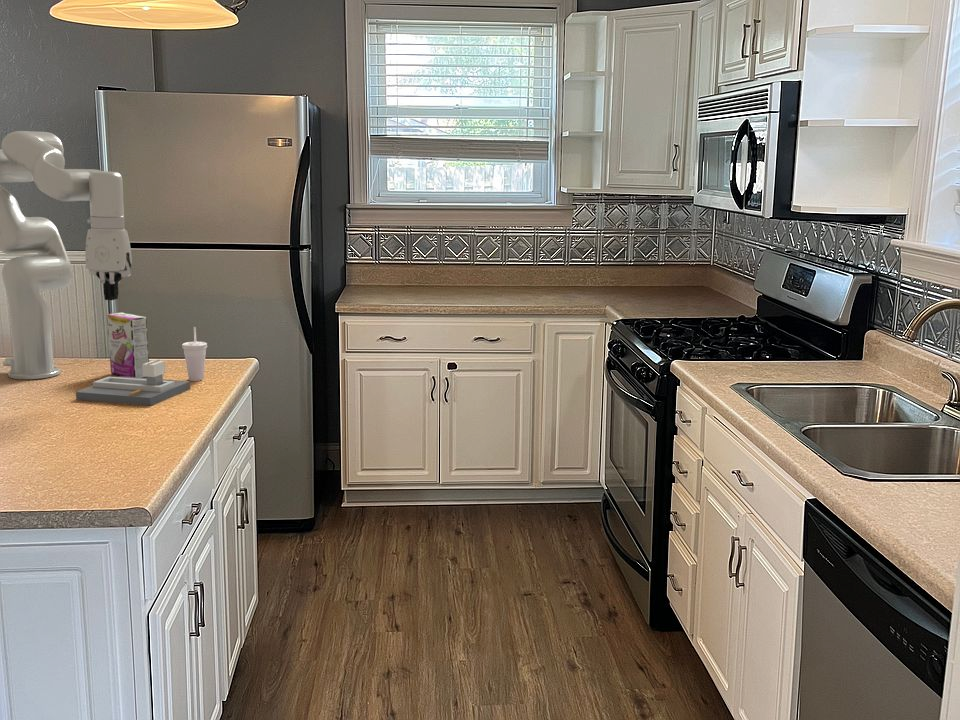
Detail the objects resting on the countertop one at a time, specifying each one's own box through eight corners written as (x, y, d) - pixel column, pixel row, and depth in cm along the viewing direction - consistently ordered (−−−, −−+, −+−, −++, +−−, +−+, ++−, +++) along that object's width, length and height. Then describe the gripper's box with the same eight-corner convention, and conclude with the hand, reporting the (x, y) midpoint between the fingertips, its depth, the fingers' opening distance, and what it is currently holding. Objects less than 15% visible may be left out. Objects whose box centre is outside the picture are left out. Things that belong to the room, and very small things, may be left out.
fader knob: (143, 388, 233) (142, 363, 231) (155, 383, 237) (153, 359, 236) (154, 389, 232) (153, 364, 231) (166, 384, 237) (164, 360, 235)
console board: (76, 399, 230) (75, 387, 229) (120, 383, 247) (119, 371, 247) (150, 406, 226) (150, 392, 225) (190, 389, 243) (189, 376, 242)
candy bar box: (109, 374, 258) (105, 314, 254) (125, 371, 262) (122, 311, 258) (134, 380, 251) (131, 318, 248) (150, 377, 255) (147, 316, 252)
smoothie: (212, 377, 256) (210, 325, 253) (203, 382, 250) (200, 330, 247) (189, 376, 257) (186, 325, 254) (179, 381, 250) (177, 329, 248)
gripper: (70, 223, 227) (74, 299, 231) (126, 226, 224) (129, 303, 228) (89, 221, 234) (93, 295, 238) (144, 224, 231) (147, 299, 235)
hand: (111, 299), depth 233 cm, fingers closed
